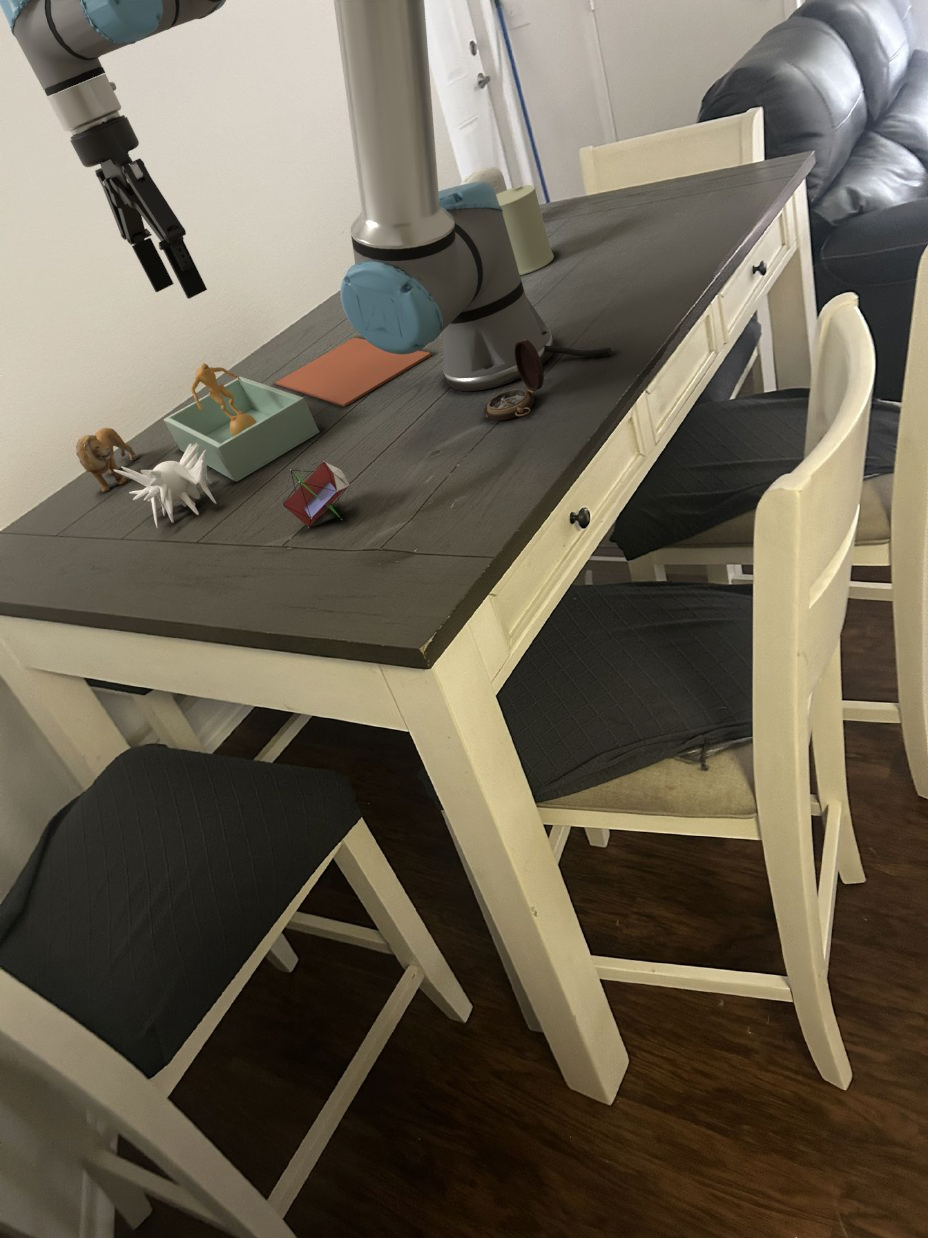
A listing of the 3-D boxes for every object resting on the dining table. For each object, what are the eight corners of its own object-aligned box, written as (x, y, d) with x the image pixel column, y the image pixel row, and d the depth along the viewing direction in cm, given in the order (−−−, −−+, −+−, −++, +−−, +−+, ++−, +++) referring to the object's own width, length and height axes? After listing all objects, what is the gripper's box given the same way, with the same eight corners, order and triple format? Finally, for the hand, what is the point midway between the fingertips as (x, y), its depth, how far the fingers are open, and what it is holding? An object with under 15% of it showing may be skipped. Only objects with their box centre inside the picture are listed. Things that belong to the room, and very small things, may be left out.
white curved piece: (505, 228, 181) (486, 161, 174) (521, 226, 178) (502, 159, 171) (469, 250, 177) (449, 183, 170) (485, 249, 173) (464, 181, 167)
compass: (478, 414, 115) (459, 360, 111) (533, 386, 116) (516, 332, 112) (504, 432, 109) (486, 375, 104) (562, 403, 110) (546, 345, 106)
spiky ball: (229, 520, 117) (205, 460, 112) (136, 550, 116) (107, 491, 111) (223, 485, 126) (200, 428, 121) (137, 512, 125) (111, 457, 120)
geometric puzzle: (284, 535, 101) (300, 465, 98) (271, 512, 107) (285, 446, 104) (346, 543, 104) (363, 475, 101) (330, 521, 110) (346, 456, 107)
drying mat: (431, 355, 138) (430, 352, 137) (344, 406, 132) (343, 404, 132) (355, 339, 156) (354, 337, 156) (276, 384, 150) (275, 382, 150)
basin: (319, 432, 128) (303, 397, 125) (236, 482, 123) (218, 447, 120) (255, 407, 145) (240, 376, 142) (180, 450, 140) (163, 419, 137)
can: (563, 250, 157) (544, 177, 150) (538, 273, 152) (517, 198, 145) (517, 257, 163) (497, 187, 156) (492, 279, 157) (470, 207, 150)
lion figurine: (132, 489, 134) (99, 434, 129) (98, 503, 134) (63, 449, 129) (139, 451, 146) (109, 400, 141) (108, 464, 146) (77, 413, 141)
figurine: (238, 455, 130) (198, 377, 123) (213, 454, 133) (172, 378, 127) (278, 424, 134) (240, 348, 128) (252, 424, 138) (214, 349, 131)
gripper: (153, 102, 105) (238, 283, 117) (97, 119, 124) (175, 274, 136) (94, 127, 103) (186, 310, 115) (46, 141, 122) (129, 296, 134)
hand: (180, 291), depth 125 cm, fingers open, 13 cm apart
